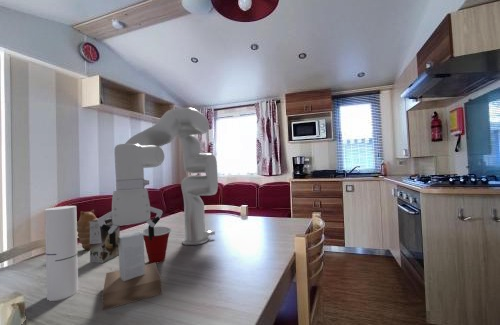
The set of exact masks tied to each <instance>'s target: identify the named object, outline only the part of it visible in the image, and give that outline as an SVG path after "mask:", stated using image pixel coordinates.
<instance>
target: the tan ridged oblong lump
mask: <svg viewBox="0 0 500 325" xmlns="http://www.w3.org/2000/svg"><path fill="white" fill-rule="evenodd" d="M97 219H98V218H97V216H96V215H95V209H91V210H90V211H82V210H81V211H80V215H79V219H77V220H78V221H77V238H78V239H79V240H78V241H79V243H80V244H81V247H82V249H83V250H90V221H93V220H97Z"/></svg>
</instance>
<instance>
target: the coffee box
mask: <svg viewBox="0 0 500 325" xmlns="http://www.w3.org/2000/svg"><path fill="white" fill-rule="evenodd" d="M97 220H98V219H97ZM97 220H93V221H90V249H89V262H90V263H99V264H103V263H105V262H107V261H110V260H111V259H114V258H115V257H117V256H118V257H119V245H118V236H121V235H120V226H118V227H117V228H116V229H115V230H114V231H115V233H116V247H114V248H113V244H110V236H109V233H108V232H106V231H105V230H103V229H102V227H101V226H100V225H99V223H98V222H97ZM104 222H105V223H106V224H107V225H108V226H110V227H111V226H112V224H113V223H112V216H111V217H110V218H108V219H106V220H105V221H104Z"/></svg>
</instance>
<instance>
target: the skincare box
mask: <svg viewBox="0 0 500 325" xmlns="http://www.w3.org/2000/svg"><path fill="white" fill-rule="evenodd" d="M118 245H119V255H118V262H119V263H118V264H119V265H118V268H119V269H118V270H120V278H121V279H122V280H123V281H126V280H129V279H132V278H135V277H138V276H141V275H144V274H145V265H146V264H145V262H146V260H145V241H144V235H143V234H142V233H141V232H138V231H137V232H134V233H128V234H123V235H120V236H118Z"/></svg>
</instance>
